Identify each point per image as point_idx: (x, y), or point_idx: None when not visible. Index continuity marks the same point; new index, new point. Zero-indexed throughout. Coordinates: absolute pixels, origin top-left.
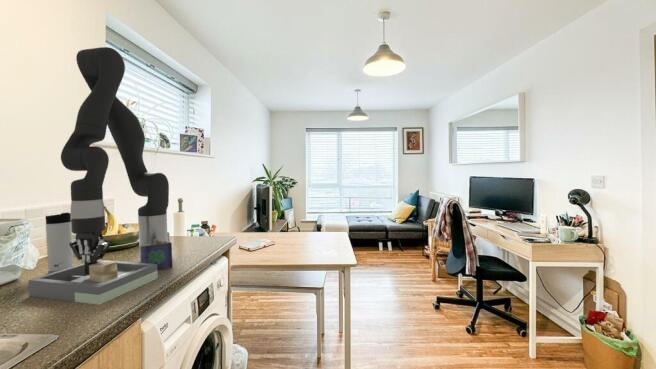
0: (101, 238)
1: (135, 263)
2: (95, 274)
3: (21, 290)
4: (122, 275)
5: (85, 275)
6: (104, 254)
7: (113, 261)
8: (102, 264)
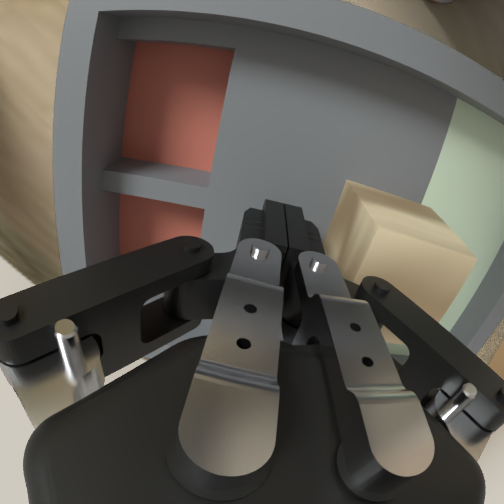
0: (464, 483)
1: (496, 95)
2: None
3: (17, 239)
4: (448, 191)
5: (123, 86)
6: (424, 315)
7: (455, 254)
8: None
